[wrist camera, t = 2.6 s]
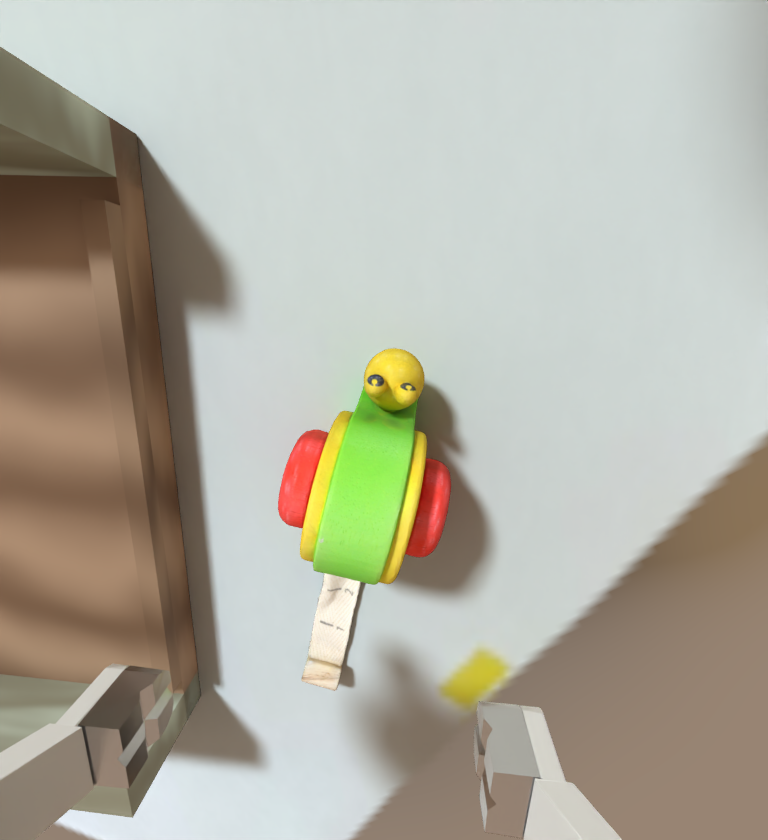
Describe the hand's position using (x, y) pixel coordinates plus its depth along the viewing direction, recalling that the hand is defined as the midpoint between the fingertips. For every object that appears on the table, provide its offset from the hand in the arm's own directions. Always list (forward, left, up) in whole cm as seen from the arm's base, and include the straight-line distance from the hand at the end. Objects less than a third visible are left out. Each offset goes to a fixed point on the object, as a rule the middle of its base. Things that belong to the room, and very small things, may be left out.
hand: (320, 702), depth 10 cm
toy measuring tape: (+1, 0, -10) cm, 10 cm away
